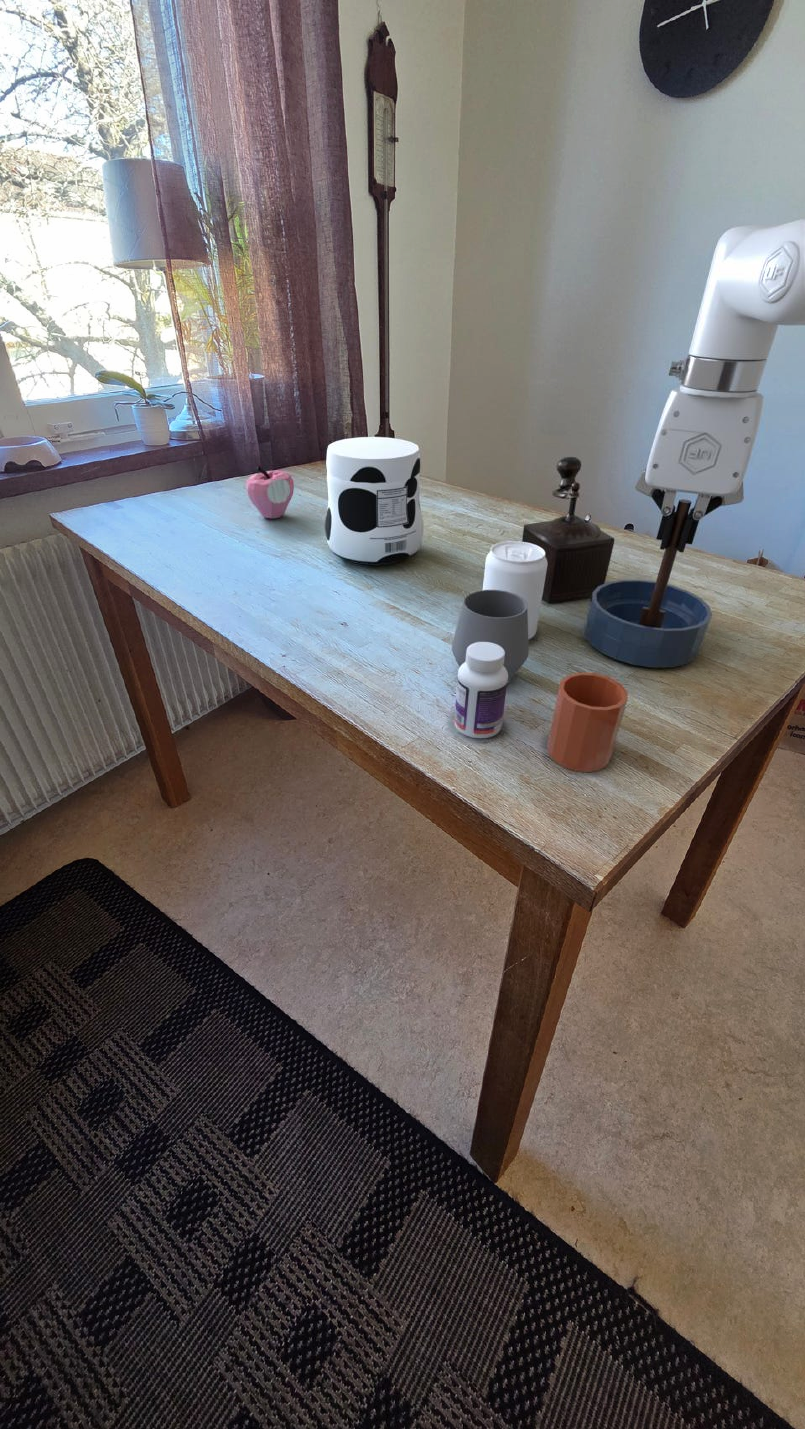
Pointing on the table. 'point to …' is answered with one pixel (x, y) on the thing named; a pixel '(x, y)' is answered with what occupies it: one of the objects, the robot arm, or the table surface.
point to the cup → (494, 626)
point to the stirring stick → (665, 569)
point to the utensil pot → (586, 721)
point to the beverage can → (518, 575)
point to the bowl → (641, 645)
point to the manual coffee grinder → (571, 545)
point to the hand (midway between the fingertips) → (672, 546)
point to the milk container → (373, 500)
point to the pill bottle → (481, 691)
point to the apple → (270, 492)
